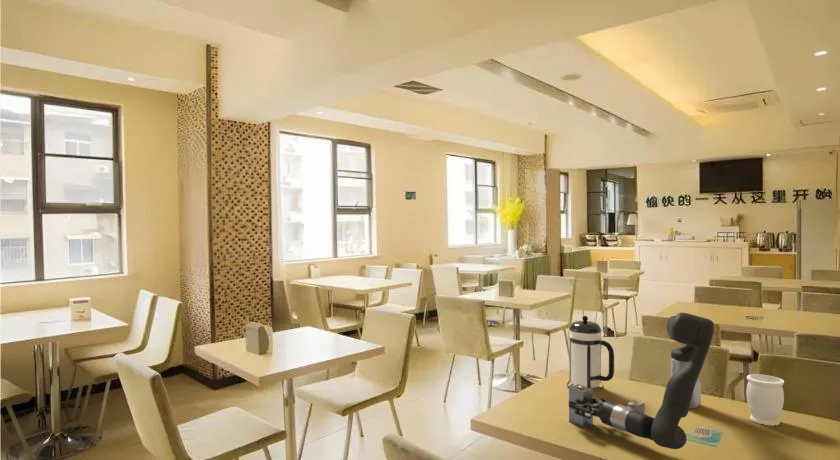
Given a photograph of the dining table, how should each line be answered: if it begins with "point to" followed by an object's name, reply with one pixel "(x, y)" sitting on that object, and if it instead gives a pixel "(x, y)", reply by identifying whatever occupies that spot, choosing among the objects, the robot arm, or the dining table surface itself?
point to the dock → (637, 406)
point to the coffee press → (587, 354)
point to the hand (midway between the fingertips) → (577, 401)
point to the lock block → (581, 397)
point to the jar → (765, 398)
